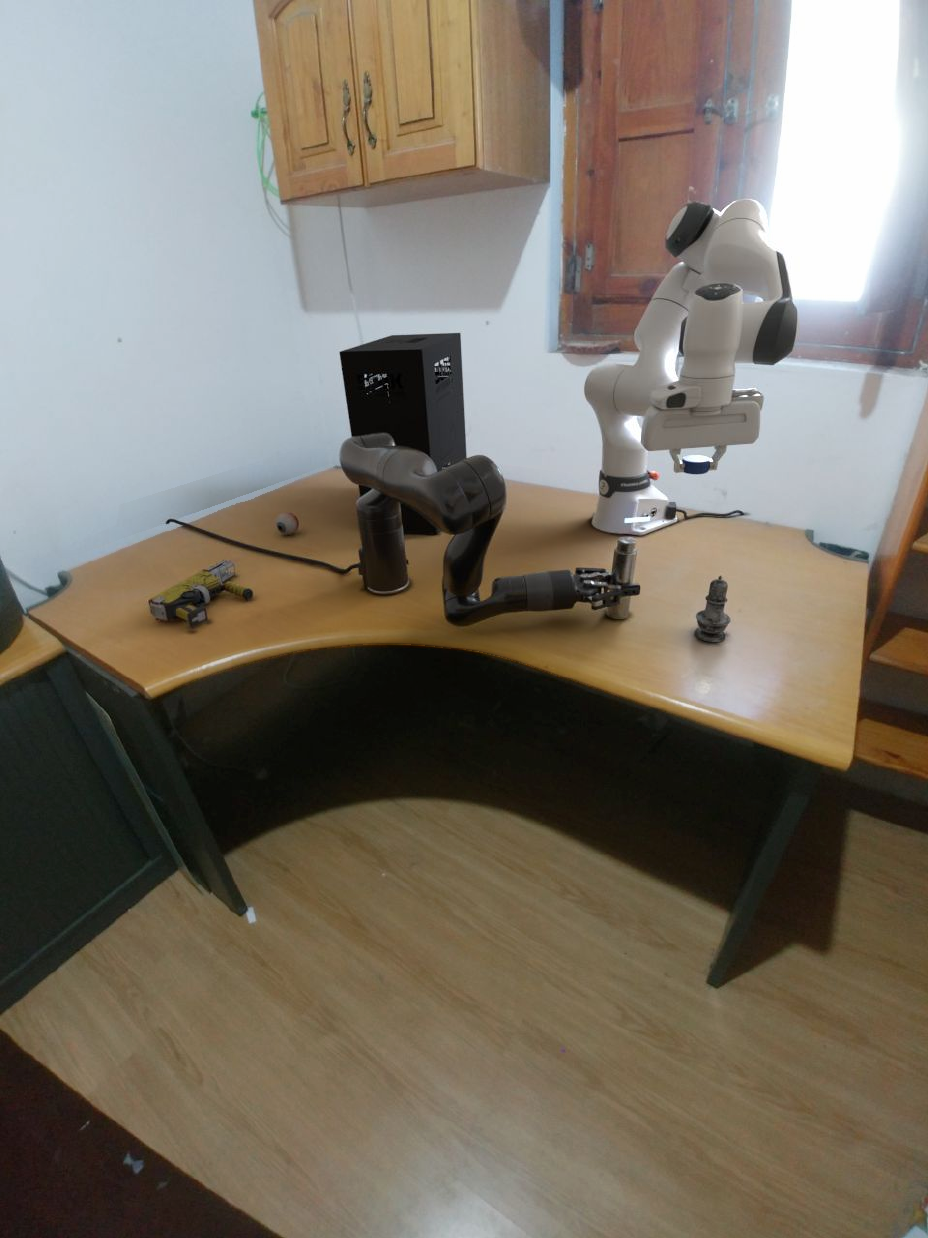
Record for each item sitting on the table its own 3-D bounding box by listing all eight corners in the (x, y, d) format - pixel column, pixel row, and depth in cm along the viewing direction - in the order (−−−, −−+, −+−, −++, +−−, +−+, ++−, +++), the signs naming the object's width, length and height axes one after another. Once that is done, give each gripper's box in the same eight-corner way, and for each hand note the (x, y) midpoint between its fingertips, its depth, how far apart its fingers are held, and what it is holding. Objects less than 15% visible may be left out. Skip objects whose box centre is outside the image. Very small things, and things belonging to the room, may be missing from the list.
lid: (711, 474, 109) (713, 461, 108) (683, 474, 109) (685, 462, 108) (704, 466, 113) (706, 454, 112) (677, 467, 113) (679, 455, 112)
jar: (603, 610, 120) (612, 536, 112) (623, 608, 121) (633, 534, 113) (611, 620, 117) (620, 545, 109) (631, 618, 117) (642, 543, 109)
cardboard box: (436, 534, 159) (422, 349, 137) (364, 531, 164) (339, 351, 141) (468, 489, 191) (460, 332, 168) (407, 487, 195) (391, 335, 173)
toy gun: (275, 568, 138) (221, 556, 142) (203, 614, 118) (142, 599, 122) (277, 586, 140) (223, 575, 144) (207, 635, 120) (146, 620, 124)
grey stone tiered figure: (729, 644, 107) (742, 583, 101) (695, 641, 108) (705, 582, 102) (724, 627, 112) (735, 568, 106) (691, 625, 113) (700, 567, 107)
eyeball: (273, 537, 164) (268, 516, 161) (287, 528, 169) (282, 508, 166) (291, 539, 161) (286, 518, 158) (305, 530, 166) (301, 510, 163)
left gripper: (555, 590, 107) (650, 582, 108) (540, 557, 119) (625, 550, 120) (554, 627, 110) (646, 618, 111) (539, 591, 123) (622, 584, 124)
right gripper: (757, 383, 106) (744, 461, 113) (641, 392, 107) (635, 469, 114) (773, 390, 101) (758, 471, 108) (651, 399, 102) (644, 479, 109)
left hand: (634, 583), depth 116 cm, fingers closed on jar, 4 cm apart
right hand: (694, 470), depth 111 cm, fingers closed on lid, 4 cm apart
